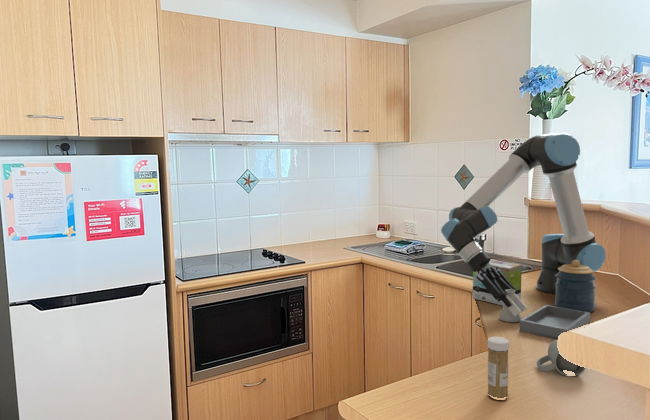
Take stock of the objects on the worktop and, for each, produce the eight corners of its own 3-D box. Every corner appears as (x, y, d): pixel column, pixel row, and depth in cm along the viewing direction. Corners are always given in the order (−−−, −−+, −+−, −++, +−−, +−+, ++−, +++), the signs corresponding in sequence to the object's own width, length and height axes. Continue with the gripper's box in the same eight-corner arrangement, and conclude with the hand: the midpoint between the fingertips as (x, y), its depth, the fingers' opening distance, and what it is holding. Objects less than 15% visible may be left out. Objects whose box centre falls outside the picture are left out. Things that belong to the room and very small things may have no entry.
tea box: (471, 299, 190) (472, 261, 189) (486, 294, 197) (486, 258, 195) (507, 307, 179) (508, 267, 177) (521, 302, 185) (522, 263, 184)
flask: (524, 318, 165) (525, 289, 164) (516, 324, 160) (516, 294, 159) (503, 314, 170) (503, 286, 169) (494, 320, 165) (495, 290, 164)
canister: (553, 302, 184) (554, 255, 183) (592, 305, 180) (593, 257, 178) (555, 311, 172) (557, 262, 171) (597, 315, 168) (599, 264, 166)
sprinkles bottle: (510, 402, 108) (511, 343, 107) (488, 401, 109) (489, 342, 108) (505, 392, 113) (506, 336, 112) (485, 391, 114) (486, 335, 112)
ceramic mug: (574, 364, 128) (575, 335, 127) (587, 377, 120) (587, 347, 119) (532, 363, 129) (532, 335, 129) (542, 376, 121) (542, 346, 121)
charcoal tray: (545, 314, 169) (545, 304, 169) (589, 323, 160) (590, 312, 159) (519, 331, 154) (519, 320, 153) (566, 341, 144) (567, 329, 144)
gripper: (479, 259, 180) (523, 312, 170) (455, 267, 168) (501, 324, 158) (493, 247, 176) (539, 300, 166) (470, 254, 164) (518, 312, 154)
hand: (521, 312), depth 162 cm, fingers closed on flask, 4 cm apart
